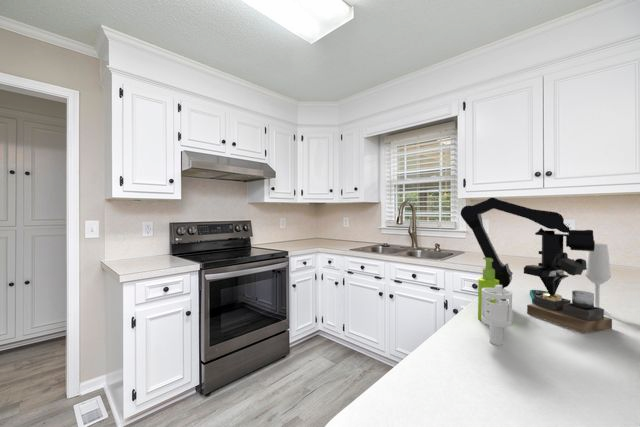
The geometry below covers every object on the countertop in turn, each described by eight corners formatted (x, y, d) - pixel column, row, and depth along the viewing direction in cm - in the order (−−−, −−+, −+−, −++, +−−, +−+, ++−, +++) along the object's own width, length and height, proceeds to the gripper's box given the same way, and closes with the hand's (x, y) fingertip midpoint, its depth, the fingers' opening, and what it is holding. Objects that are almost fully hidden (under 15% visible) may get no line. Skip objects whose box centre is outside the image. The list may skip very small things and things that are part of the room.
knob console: (583, 333, 84) (584, 312, 84) (527, 313, 100) (527, 296, 100) (611, 328, 87) (612, 308, 87) (552, 310, 104) (552, 293, 104)
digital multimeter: (551, 298, 120) (551, 291, 120) (556, 308, 107) (556, 300, 107) (529, 295, 124) (529, 288, 124) (532, 304, 111) (532, 297, 111)
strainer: (514, 342, 78) (514, 286, 78) (508, 351, 73) (508, 291, 73) (485, 334, 83) (485, 282, 83) (477, 342, 78) (478, 286, 78)
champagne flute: (589, 307, 107) (590, 242, 106) (614, 313, 101) (615, 244, 100) (580, 310, 104) (581, 243, 104) (605, 316, 98) (605, 245, 98)
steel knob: (586, 308, 86) (586, 295, 86) (568, 303, 91) (568, 291, 91) (598, 307, 88) (598, 294, 88) (579, 302, 93) (579, 289, 93)
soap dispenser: (495, 316, 97) (496, 257, 97) (501, 324, 91) (501, 260, 90) (476, 314, 99) (476, 256, 99) (480, 321, 93) (480, 259, 92)
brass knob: (554, 309, 95) (554, 297, 95) (539, 305, 100) (539, 293, 100) (565, 308, 96) (565, 296, 96) (549, 303, 101) (549, 292, 101)
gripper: (557, 253, 88) (557, 304, 88) (600, 251, 93) (599, 299, 93) (522, 248, 98) (522, 294, 98) (562, 246, 104) (562, 290, 104)
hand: (552, 295), depth 98 cm, fingers closed, pressing on brass knob
